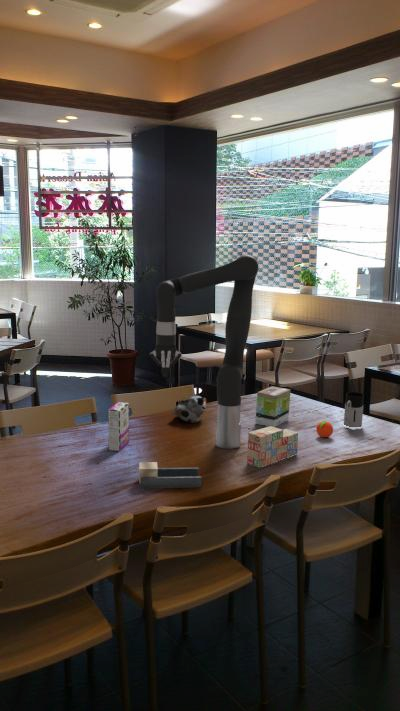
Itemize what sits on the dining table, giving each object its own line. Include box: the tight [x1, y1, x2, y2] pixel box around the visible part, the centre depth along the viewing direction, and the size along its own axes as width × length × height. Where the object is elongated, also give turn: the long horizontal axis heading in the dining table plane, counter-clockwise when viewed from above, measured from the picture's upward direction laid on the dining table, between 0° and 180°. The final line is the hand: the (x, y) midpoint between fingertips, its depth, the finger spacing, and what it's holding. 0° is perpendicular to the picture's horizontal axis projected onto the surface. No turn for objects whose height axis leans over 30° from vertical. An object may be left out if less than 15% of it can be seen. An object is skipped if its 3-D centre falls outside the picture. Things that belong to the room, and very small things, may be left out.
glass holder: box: [343, 391, 365, 427], centre depth 266 cm, size 9×14×15 cm, turn 148°
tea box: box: [254, 386, 291, 428], centre depth 273 cm, size 15×10×15 cm, turn 148°
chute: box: [139, 467, 202, 490], centre depth 204 cm, size 20×9×4 cm, turn 96°
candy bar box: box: [107, 401, 130, 452], centre depth 236 cm, size 11×5×16 cm, turn 168°
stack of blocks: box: [246, 426, 299, 468], centre depth 227 cm, size 21×6×12 cm, turn 132°
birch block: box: [138, 461, 159, 484], centre depth 203 cm, size 6×6×5 cm
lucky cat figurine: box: [171, 395, 207, 425], centre depth 272 cm, size 15×12×14 cm
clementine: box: [316, 420, 334, 438], centre depth 254 cm, size 8×7×7 cm
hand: (165, 376), depth 239 cm, fingers closed
